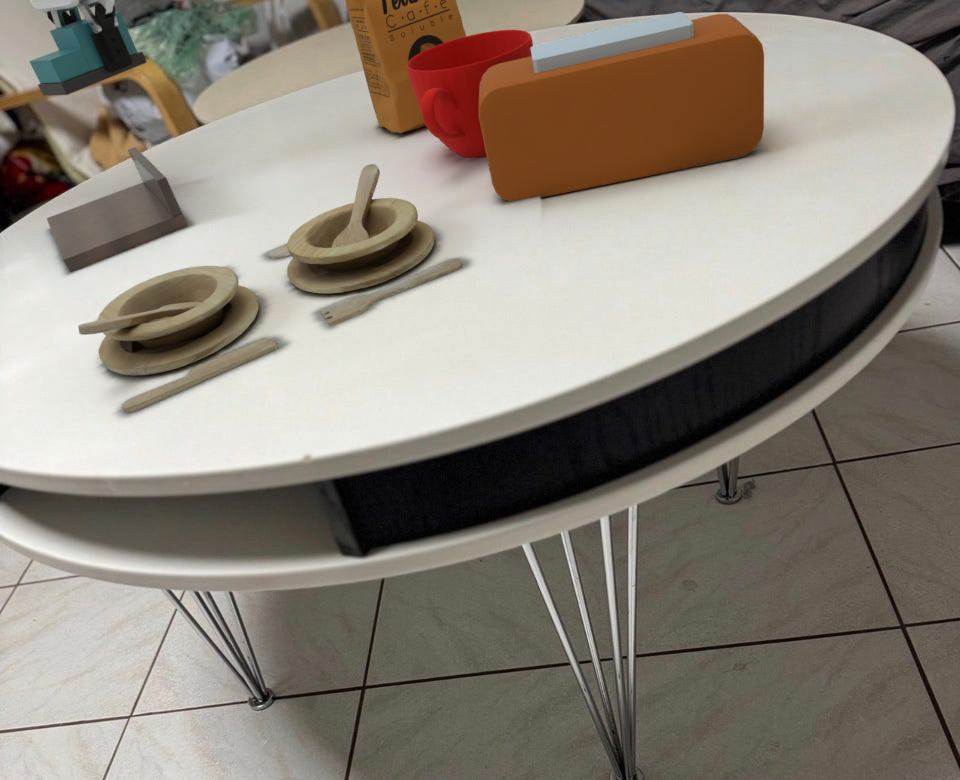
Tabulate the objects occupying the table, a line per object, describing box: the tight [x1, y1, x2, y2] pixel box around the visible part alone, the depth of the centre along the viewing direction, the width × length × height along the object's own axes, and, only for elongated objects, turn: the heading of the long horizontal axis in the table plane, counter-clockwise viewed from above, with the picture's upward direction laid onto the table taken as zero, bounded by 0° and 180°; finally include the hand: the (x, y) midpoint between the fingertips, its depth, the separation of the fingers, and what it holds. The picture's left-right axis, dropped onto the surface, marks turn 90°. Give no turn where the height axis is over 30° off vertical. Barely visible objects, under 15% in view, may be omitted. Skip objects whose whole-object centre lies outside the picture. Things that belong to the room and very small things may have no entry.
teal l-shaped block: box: [29, 11, 148, 96], centre depth 93 cm, size 11×5×6 cm, turn 144°
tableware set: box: [77, 163, 463, 414], centre depth 68 cm, size 30×20×6 cm, turn 118°
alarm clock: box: [479, 11, 765, 202], centre depth 73 cm, size 24×8×11 cm, turn 89°
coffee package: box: [345, 0, 467, 134], centre depth 95 cm, size 10×12×22 cm
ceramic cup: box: [407, 29, 534, 159], centre depth 84 cm, size 13×17×10 cm
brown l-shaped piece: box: [46, 147, 189, 273], centre depth 92 cm, size 13×18×6 cm
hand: (105, 67), depth 95 cm, fingers closed on teal l-shaped block, 5 cm apart
